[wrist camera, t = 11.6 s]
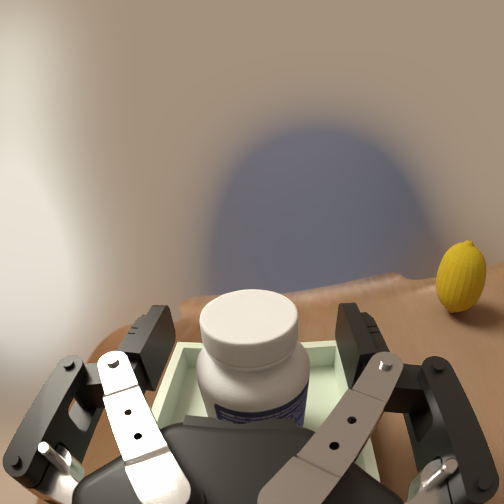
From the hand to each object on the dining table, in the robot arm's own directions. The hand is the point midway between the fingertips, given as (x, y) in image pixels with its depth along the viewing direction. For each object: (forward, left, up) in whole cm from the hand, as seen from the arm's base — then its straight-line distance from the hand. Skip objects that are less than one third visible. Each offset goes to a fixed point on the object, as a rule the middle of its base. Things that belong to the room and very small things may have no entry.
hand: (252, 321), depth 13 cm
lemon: (-20, -10, -8) cm, 24 cm away
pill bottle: (0, +1, -8) cm, 8 cm away
